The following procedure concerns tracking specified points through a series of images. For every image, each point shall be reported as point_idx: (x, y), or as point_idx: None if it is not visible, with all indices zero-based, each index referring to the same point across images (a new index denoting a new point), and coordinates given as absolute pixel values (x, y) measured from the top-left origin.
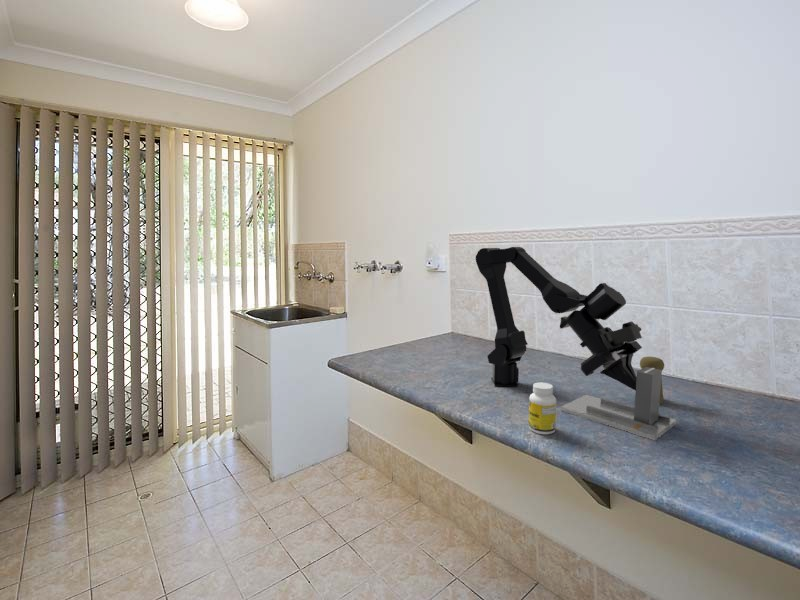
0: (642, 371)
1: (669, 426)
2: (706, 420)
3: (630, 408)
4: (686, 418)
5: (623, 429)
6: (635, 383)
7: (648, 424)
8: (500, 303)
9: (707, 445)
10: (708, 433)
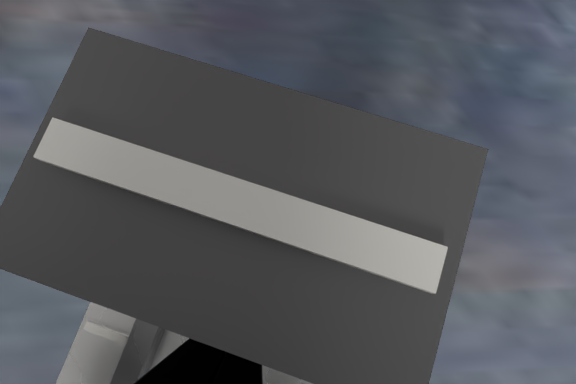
0: (352, 318)
1: None
2: (53, 9)
3: (147, 361)
4: None
5: None
6: (262, 379)
7: None
8: None
9: (370, 25)
10: (223, 12)
